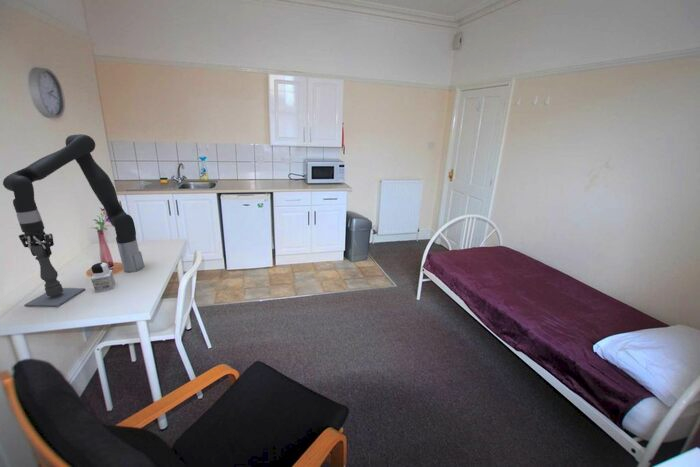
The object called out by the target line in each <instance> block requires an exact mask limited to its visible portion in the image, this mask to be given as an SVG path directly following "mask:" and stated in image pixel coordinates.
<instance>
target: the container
mask: <svg viewBox="0 0 700 467" xmlns="http://www.w3.org/2000/svg"><path fill="white" fill-rule="evenodd" d="M91 271H92V276H91V279H90V280H91V283H92V287H93V290H94V292H95V293H98V292H99V293H100V292H104V291H109V290H113V289H114V287H115V284H116V280H115V276H114V272H113V270H112V269H109V266H108V263H107V262H97V263H95V264H93V265H92V266H91Z"/></svg>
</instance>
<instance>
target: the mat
mask: <svg viewBox="0 0 700 467" xmlns="http://www.w3.org/2000/svg"><path fill="white" fill-rule="evenodd" d="M62 288H63V292H62V293H60V294H58V295H54V296H47V294H46V292H45V293H43V294H41V295H39V296H37V297H35V298H33V299H32V300H30V301H28V302H26V303H25V304H23V306H24V307H25V306H27V308H28V307H29V308H30V307H31V308H35V307H36V308H60V306H62V305H65V304H66V303H68V302H70V301H71V300H72V299H74V298H75V297H77V296H79V295H81V294H82V293H83V292H85V291H86V288H84V287H82V288H81V287H80V288H79V287H78V288H77V287H62Z"/></svg>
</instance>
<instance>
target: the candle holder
mask: <svg viewBox="0 0 700 467" xmlns="http://www.w3.org/2000/svg"><path fill="white" fill-rule="evenodd" d="M44 244H45V243H44ZM45 246H46V244H45ZM30 247H31V249H32V252H33V253H34V254H35V255H36V256H35V258H34V259H35V260H37V261H38V264H39V270H40V271H39V272H40V274H39V276H40V279H41V280H43V281H44V284H43V285H44V291H45V293H46V294H47V296H54V295H58V294H60V293H62V292H63V288H64V287H63V285H62V283H61V282H60V280H58V277H59V275H58V271H57V270H56V269H55V267H54V266H53V264H52V263H51V259H50V257H51V255H50V256H46V255H45V252H44V248H43V247H42V245H39V244H38V243H35V244H32V245H30Z"/></svg>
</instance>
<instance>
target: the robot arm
mask: <svg viewBox="0 0 700 467" xmlns="http://www.w3.org/2000/svg"><path fill="white" fill-rule="evenodd" d="M95 148H96V141H95V140H94V138H93V137H91V136H90V135H87V134H71V135H68V136H67V137H66V139H65V146H64V147H63V148H61V149H59V150H57V151H54V152H52V153H50V154H48V155H45V156H43V157H41V158H39V159H37V160H35V161H34V162H32V163H31V164H29V165H27V166H26V167H24V168H22V169H19V170H17V171H15V172H12V173H10V174H9V175H6V176H5V178H3V181H2V185H3V187H4V188H5V189H6V190H7V191H11V192H13V196H14V199H12V200H13V201H12V205H13V207H14V208H13V209H14V210H15V213H16V218H17V221H18V224H19V226H20V229H21V232H22V233H21V234H19V235H18V238H19V240H20V242H21V243H22V246H23V247H24V248H28V249H29V250H30V252H31V256H33V257H37V256H36V255H35V254H34V253H33V252H32V249H31V247H30V245H32V244H35V243H38V244H39V245H42V247H43V248H44V252H45V255H46V256H50V257H51V255H52V253H53V252H52V249H51V247H53V246H55V244H54V236H53V233H46V232H45V224H44V222H43V219H42V216H41V213H40V211H39V209H38V207H37V203H36V201H35V188H34V185H33V183H34V182H36V181H41V180H44V179H45V178H47V177H49V176H50V175H52V174H53V173H55V172H56V171H58V170H59V169H60V168H62V167H63V166H65V165H67V164H69V163H70V162H72V161H75V162H76V163H77V164H78V167H80V169H81V171H82V174H83V175H84V177H85V178H86V181H87V182H88V184H89V186H90V189H91V190H92V191H93V194H95V196H96V197H97V199H98V201H99V202H100V204H101V205H102V206H103V208H104V210H105V211H104V212H106V215H107V217H108V220H109V222H110V224H111V226H112V227H114V231H115V235H116V237H115V240H116V245H117V248H118V252H119V257H120V260H121V264H122V269H123V272H125V273H132V272H133V273H134V272H138V271H140V270H142V269H143V268H144V267H145V263H144V259H143V254H142V252H141V250H139V244H138V241H137V240H138V239H137V230H136V227H135V222H134V219H133V217H132V216H131V215H130V214H128V213H126V211H125V210H124V208H123V207H122V205H121V204H120V202H119V200H118V199H119V198H118V194H117V190H116V188H115V186H114V184H113V182H112V180H111V178H110V177H109V175H108V174H107V172H106V171H104V170H103V168H101V166H100V165H98V163H97V162H96V160H95V159H94V158H93V156H92V154H91V153H92V152H94V150H95ZM44 243H45V244H46V246H45V244H44Z"/></svg>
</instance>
